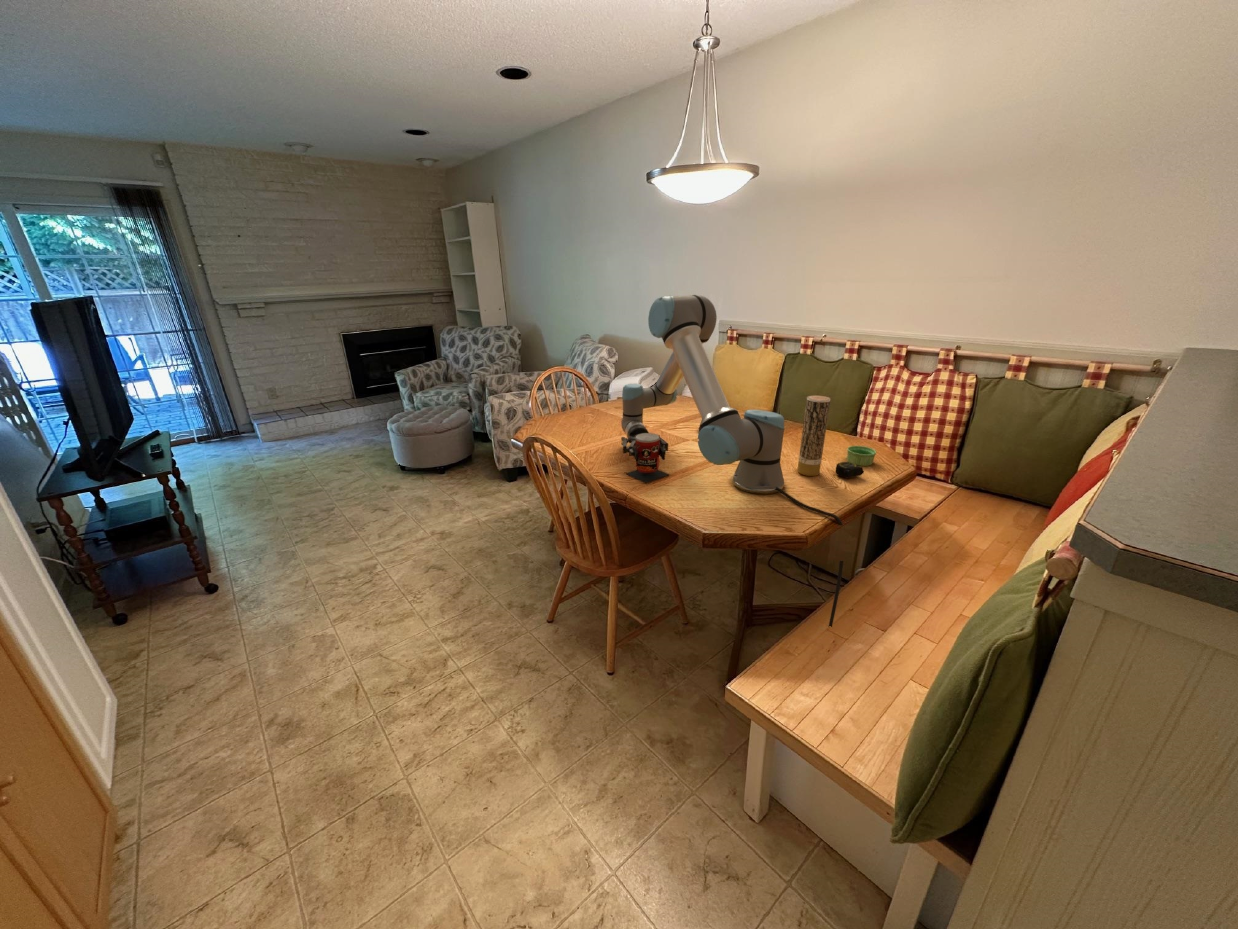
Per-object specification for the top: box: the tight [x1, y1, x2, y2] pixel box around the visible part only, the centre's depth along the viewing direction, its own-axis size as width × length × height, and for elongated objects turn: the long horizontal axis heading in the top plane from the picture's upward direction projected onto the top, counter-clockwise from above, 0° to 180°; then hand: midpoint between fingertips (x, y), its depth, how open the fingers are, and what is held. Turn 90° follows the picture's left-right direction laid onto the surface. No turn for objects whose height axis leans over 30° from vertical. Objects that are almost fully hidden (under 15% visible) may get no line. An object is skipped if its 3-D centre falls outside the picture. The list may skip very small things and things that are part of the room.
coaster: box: [625, 469, 670, 484], centre depth 157 cm, size 10×10×1 cm
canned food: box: [635, 432, 661, 473], centre depth 154 cm, size 8×8×11 cm
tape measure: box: [835, 461, 865, 479], centre depth 153 cm, size 7×7×4 cm
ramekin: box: [846, 445, 877, 467], centre depth 164 cm, size 9×9×4 cm
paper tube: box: [797, 395, 831, 477], centre depth 152 cm, size 7×7×25 cm
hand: (650, 456), depth 150 cm, fingers closed on canned food, 8 cm apart
